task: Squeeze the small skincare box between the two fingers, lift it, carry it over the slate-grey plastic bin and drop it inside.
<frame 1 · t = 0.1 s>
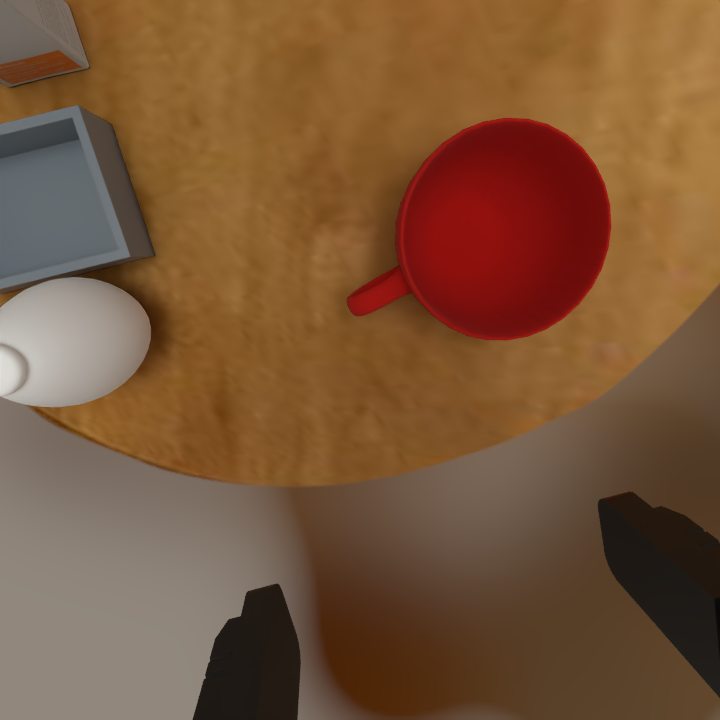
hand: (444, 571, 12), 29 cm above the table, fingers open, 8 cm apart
bin: (55, 211, 37), on the table
sauce bottle: (120, 323, 39), on the table
skincare box: (42, 48, 34), on the table
ceramic cup: (439, 249, 39), on the table
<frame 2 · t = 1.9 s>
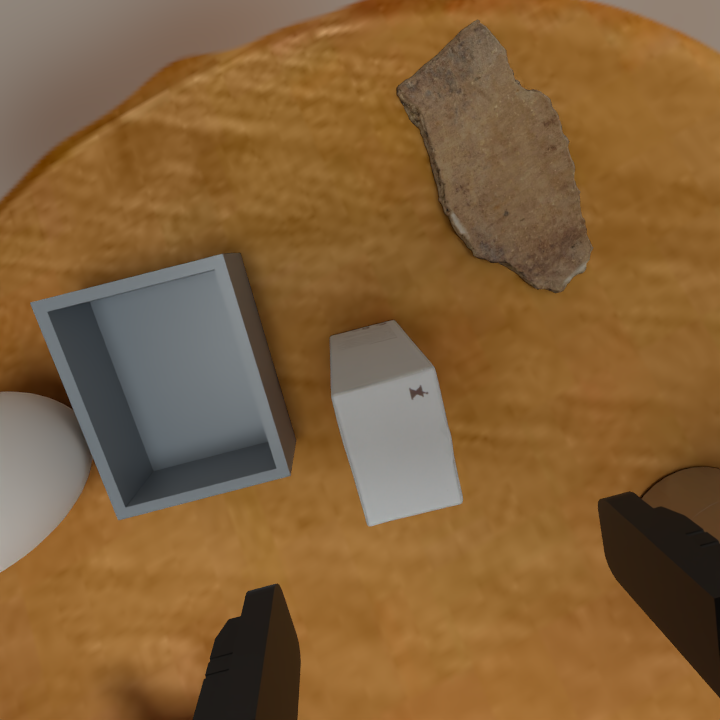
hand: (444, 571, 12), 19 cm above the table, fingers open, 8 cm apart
bin: (193, 370, 30), on the table
sauce bottle: (58, 430, 30), on the table
pottery shard: (497, 179, 29), on the table
skincare box: (372, 372, 31), on the table
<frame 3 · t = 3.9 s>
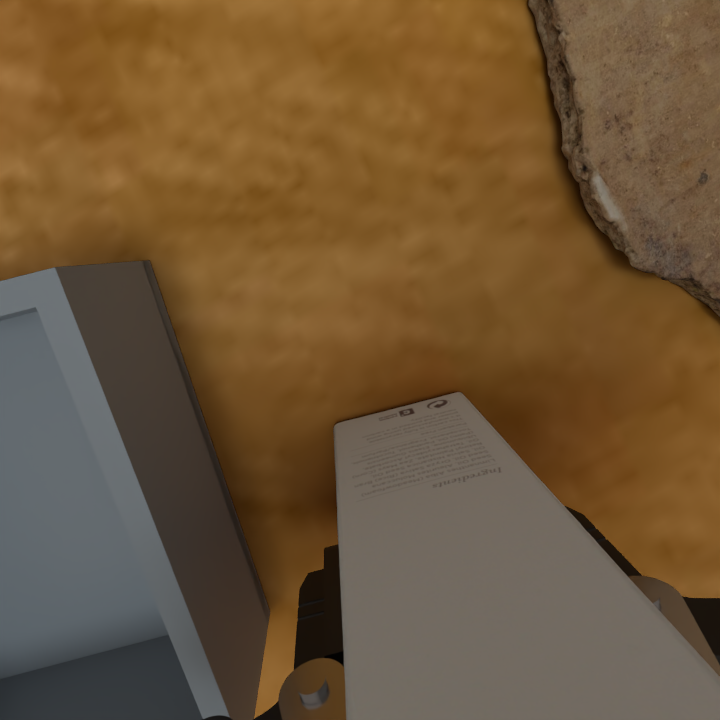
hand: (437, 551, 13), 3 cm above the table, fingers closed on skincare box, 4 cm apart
bin: (65, 490, 15), on the table
pottery shard: (669, 111, 15), on the table
skincare box: (414, 487, 16), on the table, touching gripper
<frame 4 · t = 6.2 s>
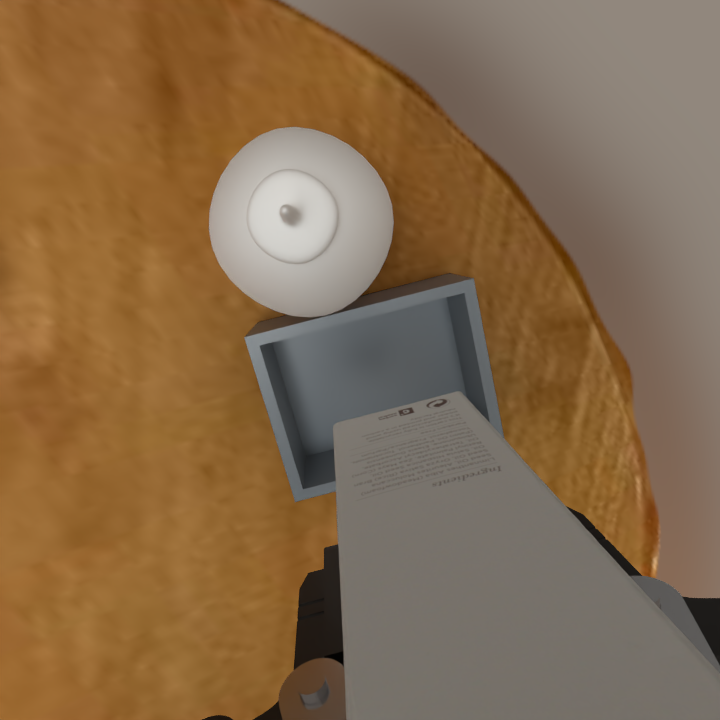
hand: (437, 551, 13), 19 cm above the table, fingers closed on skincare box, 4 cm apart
bin: (372, 371, 31), on the table
sauce bottle: (309, 232, 29), on the table
skincare box: (414, 487, 16), point 15 cm above the table, touching gripper
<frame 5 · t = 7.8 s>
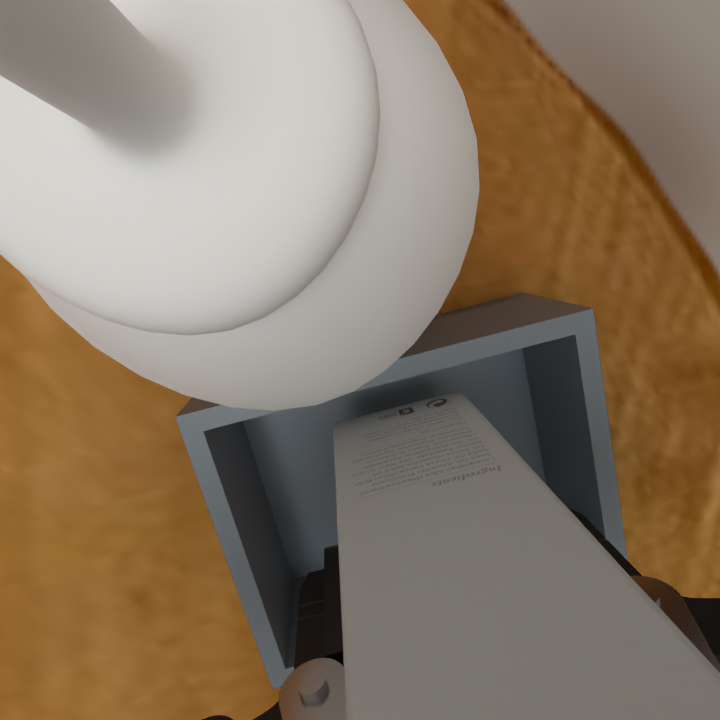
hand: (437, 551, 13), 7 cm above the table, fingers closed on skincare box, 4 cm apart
bin: (397, 446, 20), on the table
sauce bottle: (297, 227, 18), on the table
skincare box: (414, 486, 16), point 4 cm above the table, touching gripper
when the fingers open (6 cm above the table, at t = 8.8 s): skincare box drops 2 cm, resting on bin.
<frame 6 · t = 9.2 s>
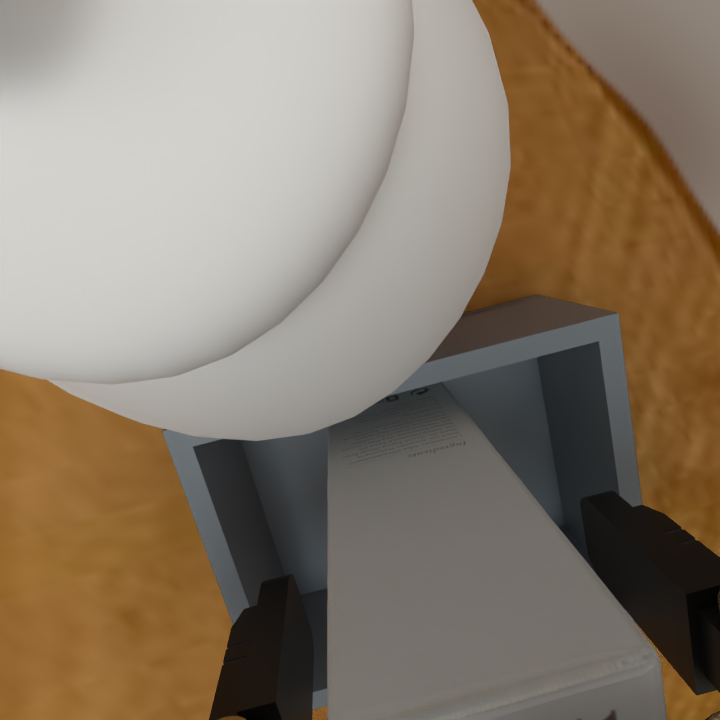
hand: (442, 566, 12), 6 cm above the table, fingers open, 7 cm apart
bin: (402, 457, 19), on the table
sauce bottle: (295, 224, 17), on the table
skincare box: (399, 467, 18), resting on bin
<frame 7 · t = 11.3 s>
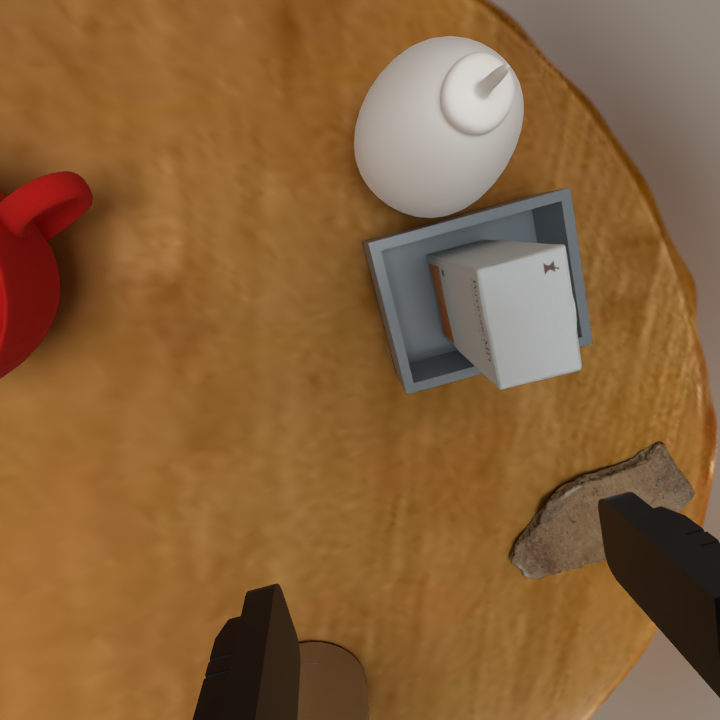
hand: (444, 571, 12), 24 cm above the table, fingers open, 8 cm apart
bin: (462, 286, 34), on the table
sauce bottle: (409, 157, 32), on the table
pottery shard: (588, 509, 40), on the table
skincare box: (462, 290, 34), resting on bin
ceramic cup: (26, 256, 32), on the table
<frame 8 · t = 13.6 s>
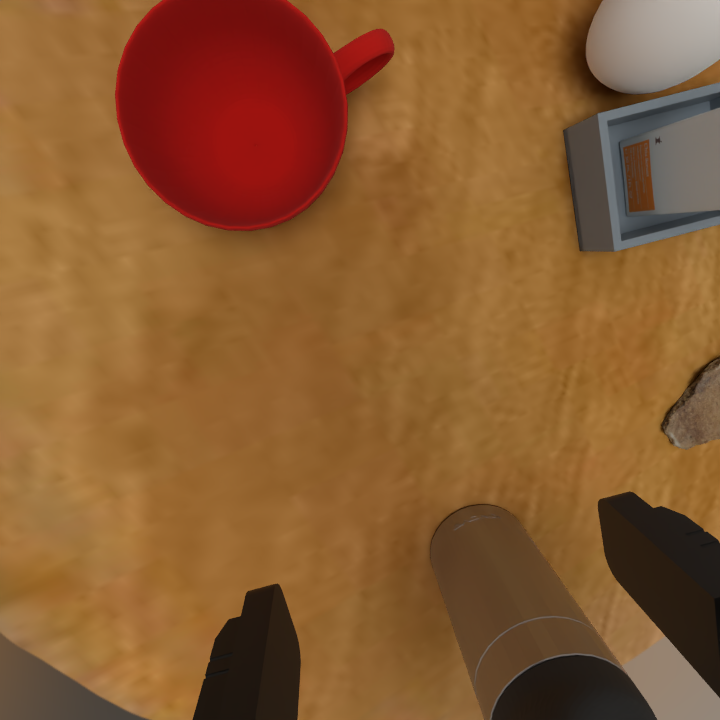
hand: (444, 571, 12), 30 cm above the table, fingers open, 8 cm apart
bin: (643, 173, 40), on the table
sauce bottle: (608, 57, 38), on the table
skincare box: (644, 175, 39), resting on bin
ceramic cup: (280, 134, 38), on the table
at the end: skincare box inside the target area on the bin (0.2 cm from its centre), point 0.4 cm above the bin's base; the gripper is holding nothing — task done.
